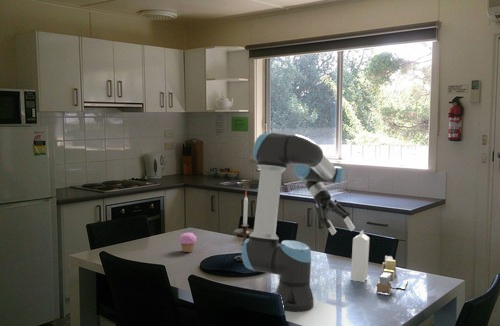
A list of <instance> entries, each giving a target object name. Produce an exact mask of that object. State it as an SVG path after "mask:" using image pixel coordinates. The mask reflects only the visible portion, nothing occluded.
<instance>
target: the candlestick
mask: <svg viewBox="0 0 500 326" xmlns="http://www.w3.org/2000/svg"><path fill="white" fill-rule="evenodd" d="M247 192H248V190H245V192H244V198H243V220H242V224H241V225H240V226H241V227H242V228H241V227H240V228H235V229H234V230H233V234H235V235H236V236H237V235H238V236H242V237H243V238H242V239H243V240H242V243H241V247H242V246H243V243H244V241H245V240H246V239H247V237H249V235H250V234H251V233H252V232H253V231H254V228H248V227H249V226H250V225H249V224H248V207H249V206H248V205H249V200H248V199H249V198H248V197H247V195H248V194H247ZM237 257H240V259H242V254H241V255H235V257H234V260H235V259H236V258H237ZM237 260H238V259H237ZM241 261H243V260H241Z"/></svg>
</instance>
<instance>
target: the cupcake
mask: <svg viewBox="0 0 500 326" xmlns="http://www.w3.org/2000/svg"><path fill="white" fill-rule="evenodd" d="M178 242H179V243H180V245H181V250H182V251H183V253H186V252H187V253H191V252H193V250H194V247H195V245H194V244H195V243H196V242H197V236H196V235H195V234H194V233H193V232H184V233H182V234H180V236H179V237H178Z"/></svg>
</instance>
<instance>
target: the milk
mask: <svg viewBox="0 0 500 326" xmlns="http://www.w3.org/2000/svg"><path fill="white" fill-rule="evenodd" d="M351 252H352V253H351V266H350V267H351V269H350V270H351V271H350V280H351V279H352V280H358V281H365V280H366V278H367V279H368V271H369V270H368V269H369V255H370V253H369V252H370V237H369V236H368V235H367V234H365V233H364V229H362V230H361V231H360V232H359V234H358V235H355V237H353V238H352V251H351ZM366 281H367V280H366ZM366 281H365V282H366Z"/></svg>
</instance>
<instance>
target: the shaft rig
mask: <svg viewBox="0 0 500 326" xmlns="http://www.w3.org/2000/svg"><path fill="white" fill-rule="evenodd" d="M396 265H397V261H396V259H394V258H393V256H392V255H385V256H384V261H383V262H382V267H381V268H382V269H381V271H382V270H383V273H381V275H380V276H379V277H380V281H379V282H378V283H377V282H376V283H377V286H376V293H377V292H382V293H388V294H389V293H390V292H391V291H392V288H391V283H389V282H390V281H393V280H394V278H395V271H396V267H397V266H396ZM391 293H392V292H391Z"/></svg>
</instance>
